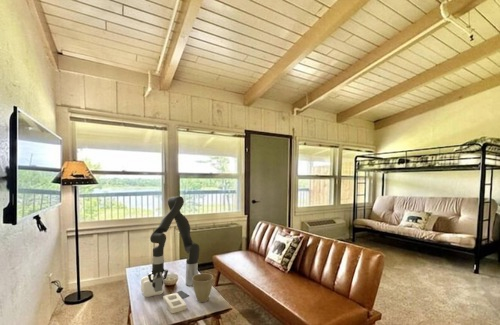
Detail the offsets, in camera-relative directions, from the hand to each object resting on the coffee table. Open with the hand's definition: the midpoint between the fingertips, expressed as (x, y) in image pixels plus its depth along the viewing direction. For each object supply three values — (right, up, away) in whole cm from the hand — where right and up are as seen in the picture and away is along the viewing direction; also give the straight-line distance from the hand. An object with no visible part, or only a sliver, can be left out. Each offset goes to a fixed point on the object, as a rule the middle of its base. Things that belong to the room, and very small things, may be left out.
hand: (157, 286), depth 177 cm
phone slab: (+13, -13, +13) cm, 22 cm away
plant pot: (+30, -13, +6) cm, 33 cm away
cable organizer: (-9, -12, +14) cm, 21 cm away
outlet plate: (+12, -12, -1) cm, 17 cm away
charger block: (0, -2, 0) cm, 2 cm away
